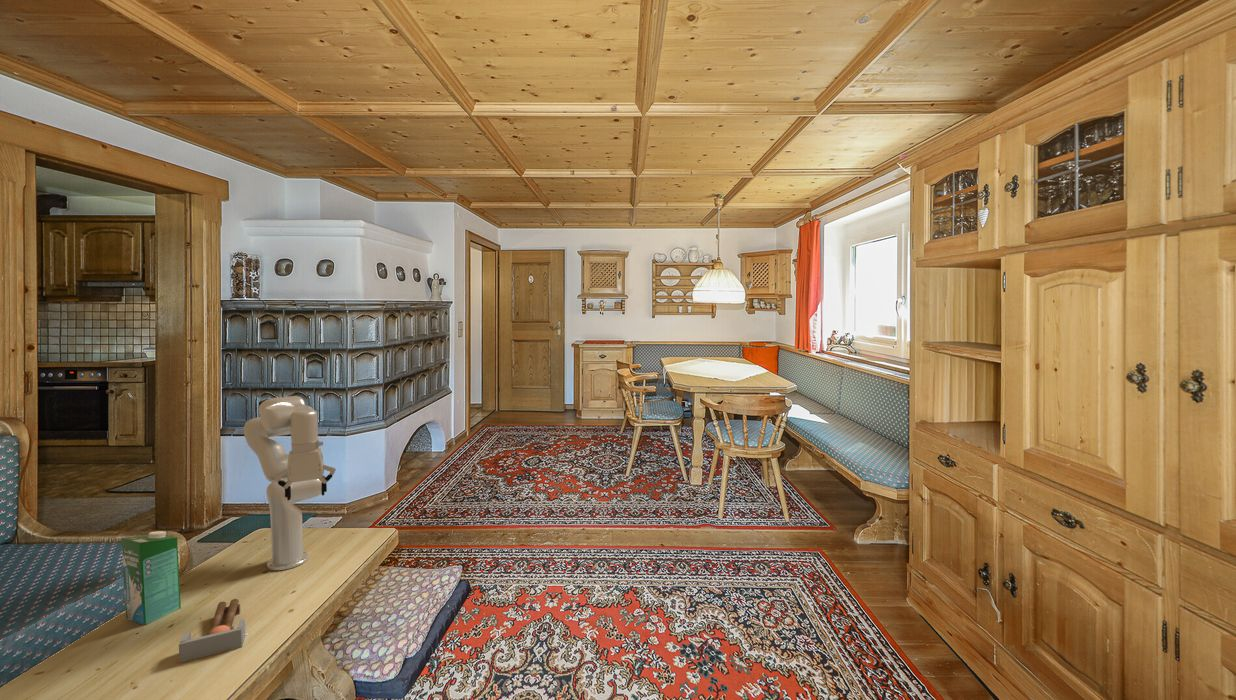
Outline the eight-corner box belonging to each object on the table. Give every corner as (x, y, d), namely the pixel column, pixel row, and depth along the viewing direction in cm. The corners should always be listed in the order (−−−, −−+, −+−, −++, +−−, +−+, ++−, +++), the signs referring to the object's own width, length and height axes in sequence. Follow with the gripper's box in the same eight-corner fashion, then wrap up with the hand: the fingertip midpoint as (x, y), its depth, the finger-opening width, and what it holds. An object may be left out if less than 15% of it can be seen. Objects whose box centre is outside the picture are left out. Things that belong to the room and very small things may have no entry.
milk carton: (181, 608, 148) (177, 529, 146) (144, 625, 140) (139, 542, 138) (162, 602, 151) (158, 525, 149) (125, 618, 143) (121, 537, 141)
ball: (200, 644, 130) (212, 623, 133) (219, 648, 133) (230, 627, 136) (207, 643, 128) (219, 622, 131) (227, 647, 131) (238, 627, 134)
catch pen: (185, 650, 129) (184, 632, 129) (245, 635, 136) (244, 618, 135) (179, 662, 125) (178, 644, 125) (241, 646, 131) (241, 629, 131)
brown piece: (217, 616, 144) (216, 602, 144) (240, 610, 147) (240, 597, 147) (206, 639, 134) (205, 624, 134) (231, 633, 137) (231, 618, 136)
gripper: (335, 441, 167) (336, 489, 168) (275, 447, 159) (276, 497, 160) (334, 446, 161) (335, 496, 162) (271, 452, 152) (273, 505, 153)
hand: (306, 496), depth 161 cm, fingers open, 9 cm apart
